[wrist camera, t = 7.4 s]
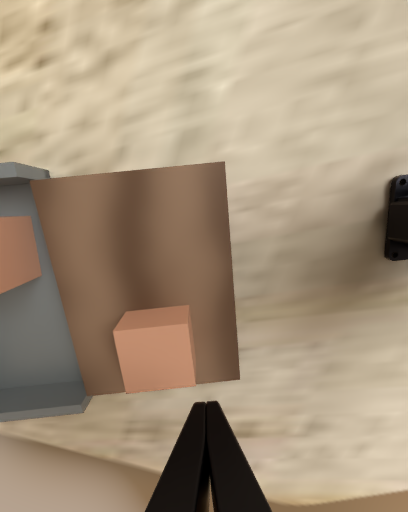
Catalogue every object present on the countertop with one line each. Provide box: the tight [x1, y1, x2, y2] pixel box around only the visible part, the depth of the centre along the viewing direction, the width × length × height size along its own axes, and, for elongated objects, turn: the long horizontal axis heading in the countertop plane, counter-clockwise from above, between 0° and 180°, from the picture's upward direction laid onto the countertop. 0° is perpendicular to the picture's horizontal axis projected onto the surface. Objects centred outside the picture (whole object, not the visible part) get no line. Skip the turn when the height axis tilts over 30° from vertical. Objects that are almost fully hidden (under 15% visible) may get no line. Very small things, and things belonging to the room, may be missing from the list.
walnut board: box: [29, 162, 240, 396], centre depth 16 cm, size 12×16×2 cm
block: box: [113, 305, 196, 394], centre depth 15 cm, size 4×4×2 cm
